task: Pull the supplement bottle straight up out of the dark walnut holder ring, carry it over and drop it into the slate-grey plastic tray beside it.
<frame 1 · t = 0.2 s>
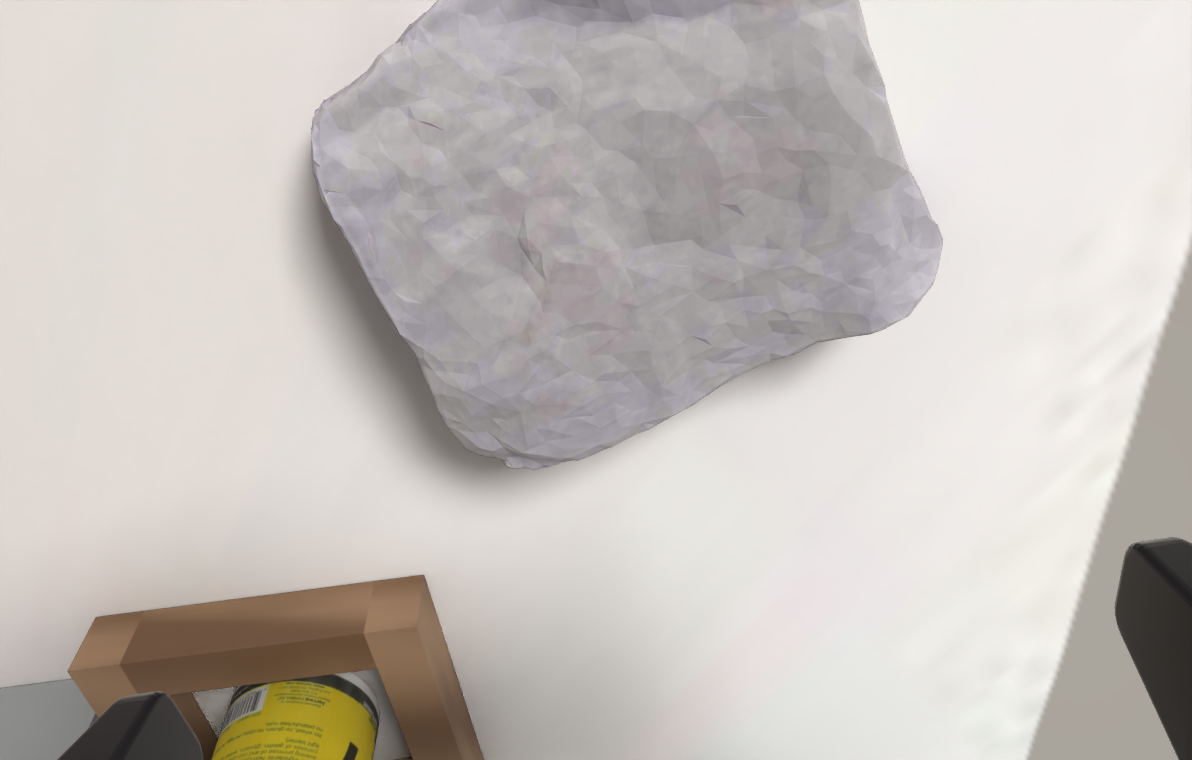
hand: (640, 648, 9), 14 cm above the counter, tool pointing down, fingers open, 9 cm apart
supplement bottle: (310, 697, 31), resting in holder ring
holder ring: (308, 702, 31), on the counter
stone block: (611, 154, 22), on the counter
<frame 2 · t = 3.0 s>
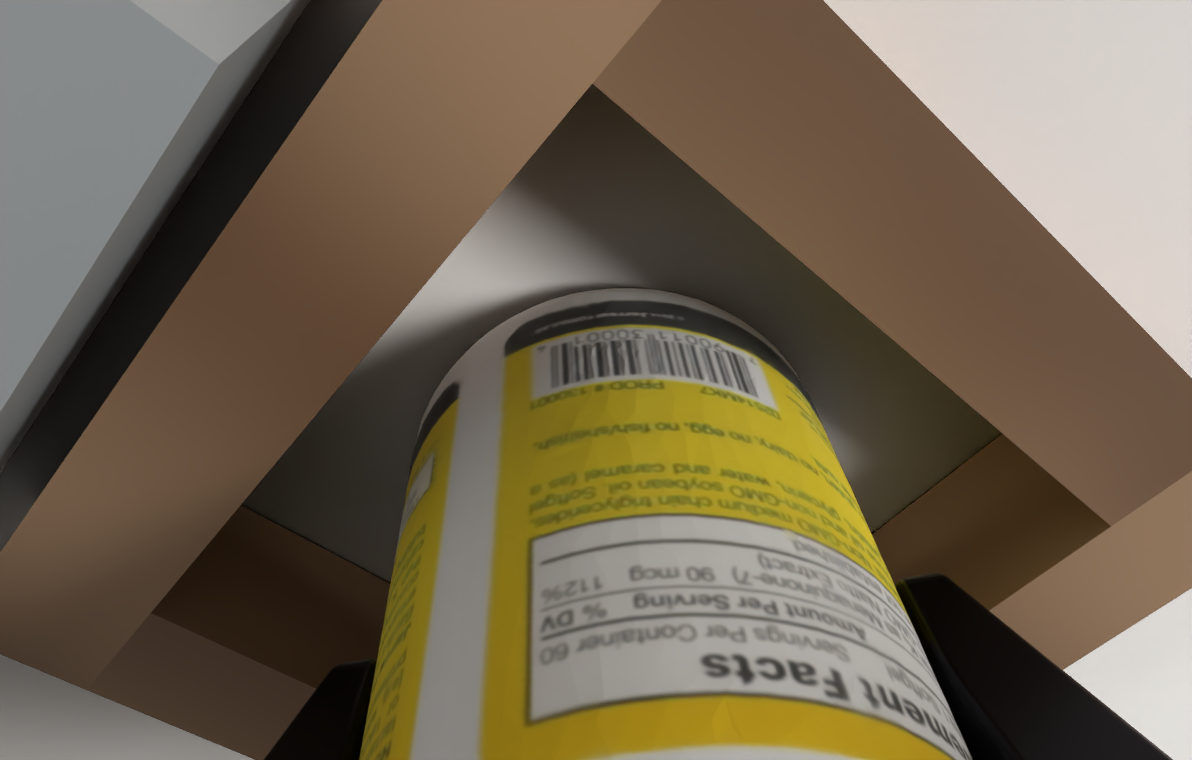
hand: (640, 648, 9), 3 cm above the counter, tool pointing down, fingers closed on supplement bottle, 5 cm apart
supplement bottle: (616, 441, 11), resting in holder ring, touching gripper
holder ring: (617, 451, 11), on the counter
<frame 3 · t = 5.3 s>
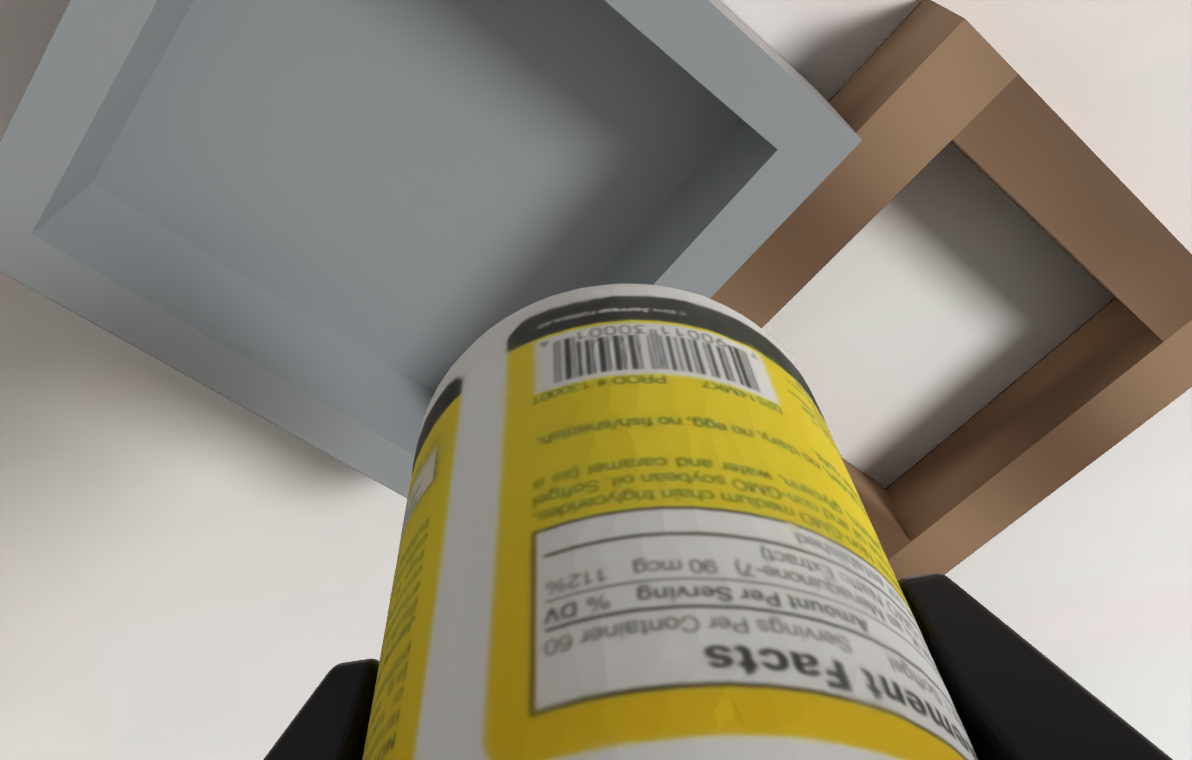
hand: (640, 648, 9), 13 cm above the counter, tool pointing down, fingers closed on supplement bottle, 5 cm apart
tray: (425, 129, 19), on the counter
supplement bottle: (618, 437, 11), point 9 cm above the counter, touching gripper
holder ring: (899, 322, 22), on the counter
when the fingers open (5 cm above the counter, at t = 7.5 s): supplement bottle drops 1 cm, resting on tray.
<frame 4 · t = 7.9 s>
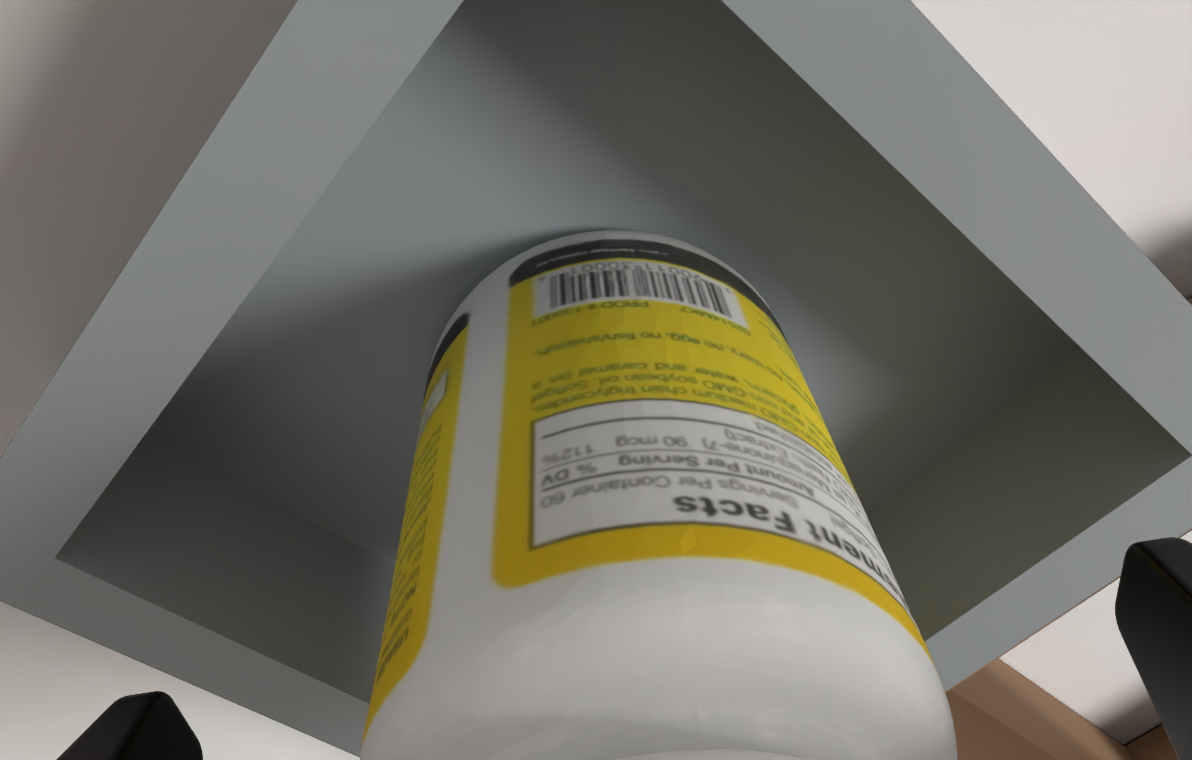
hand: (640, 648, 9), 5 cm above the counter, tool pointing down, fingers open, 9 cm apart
tray: (605, 346, 13), on the counter
supplement bottle: (609, 375, 13), point 1 cm above the counter, touching tray
holder ring: (1190, 570, 16), on the counter
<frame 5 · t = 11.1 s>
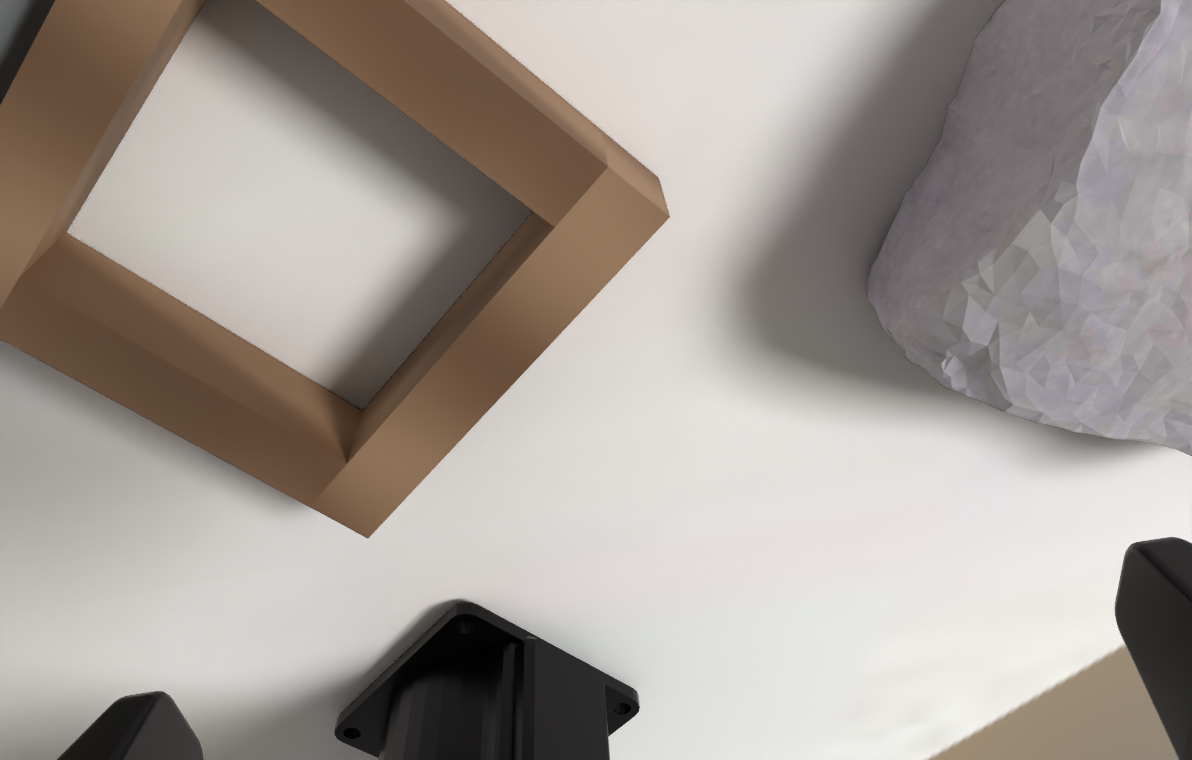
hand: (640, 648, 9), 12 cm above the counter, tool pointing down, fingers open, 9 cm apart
holder ring: (309, 210, 19), on the counter
stone block: (1181, 169, 20), on the counter
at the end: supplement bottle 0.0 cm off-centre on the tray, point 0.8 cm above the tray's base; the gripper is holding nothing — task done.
